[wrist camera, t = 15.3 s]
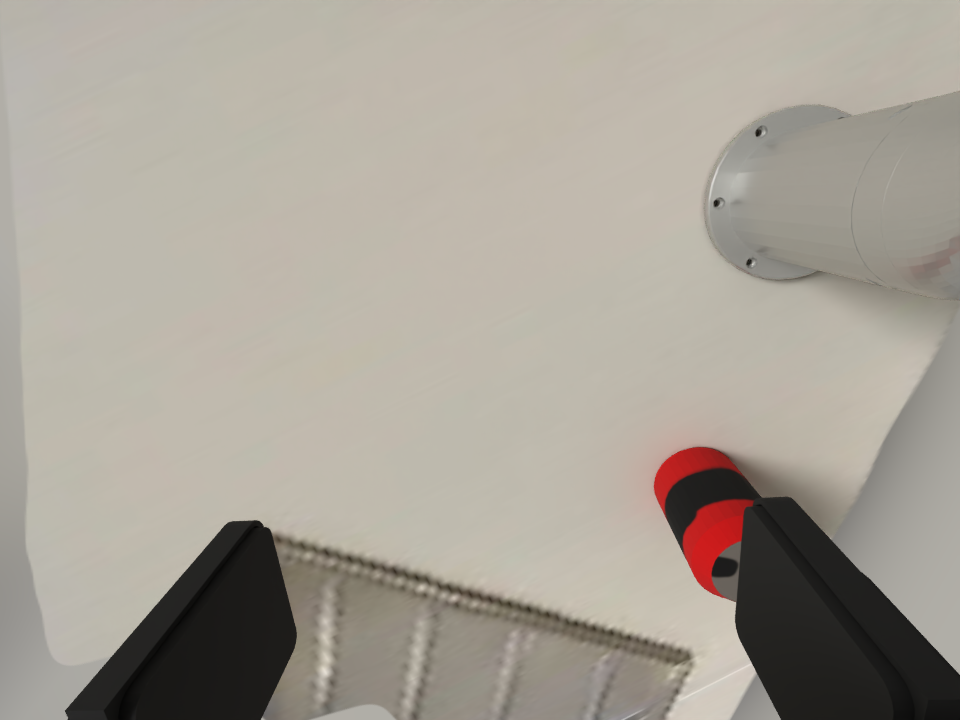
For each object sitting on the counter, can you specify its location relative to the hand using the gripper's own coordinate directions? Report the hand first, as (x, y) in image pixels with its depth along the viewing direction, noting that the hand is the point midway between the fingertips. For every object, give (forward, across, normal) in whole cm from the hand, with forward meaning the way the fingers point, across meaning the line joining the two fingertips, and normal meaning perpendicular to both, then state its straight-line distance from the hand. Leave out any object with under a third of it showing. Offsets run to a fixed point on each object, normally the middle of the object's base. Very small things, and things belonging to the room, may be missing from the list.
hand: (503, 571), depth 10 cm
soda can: (+34, -16, +20) cm, 43 cm away
